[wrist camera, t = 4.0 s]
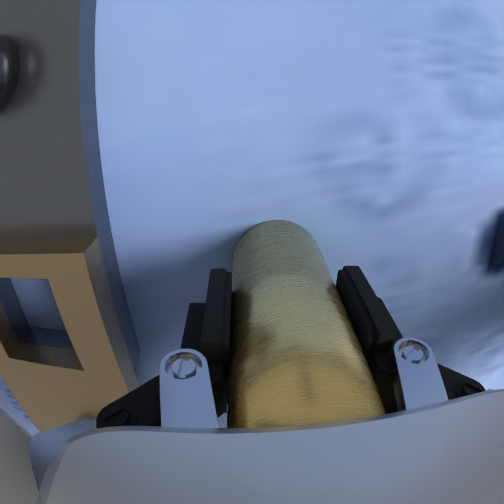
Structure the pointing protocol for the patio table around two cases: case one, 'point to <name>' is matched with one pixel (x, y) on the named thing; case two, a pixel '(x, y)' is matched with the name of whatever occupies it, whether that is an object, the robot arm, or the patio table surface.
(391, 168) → the patio table surface
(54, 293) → the peg insertion board
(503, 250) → the patio table surface
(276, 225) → the pin
